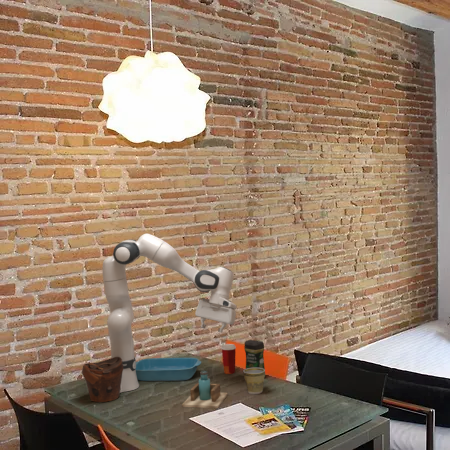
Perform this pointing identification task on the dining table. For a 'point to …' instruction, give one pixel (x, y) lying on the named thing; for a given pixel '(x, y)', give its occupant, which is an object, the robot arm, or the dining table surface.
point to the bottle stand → (211, 403)
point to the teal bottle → (204, 386)
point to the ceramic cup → (254, 379)
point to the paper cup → (228, 358)
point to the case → (103, 379)
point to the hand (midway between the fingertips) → (211, 330)
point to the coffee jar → (254, 354)
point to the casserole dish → (166, 369)
